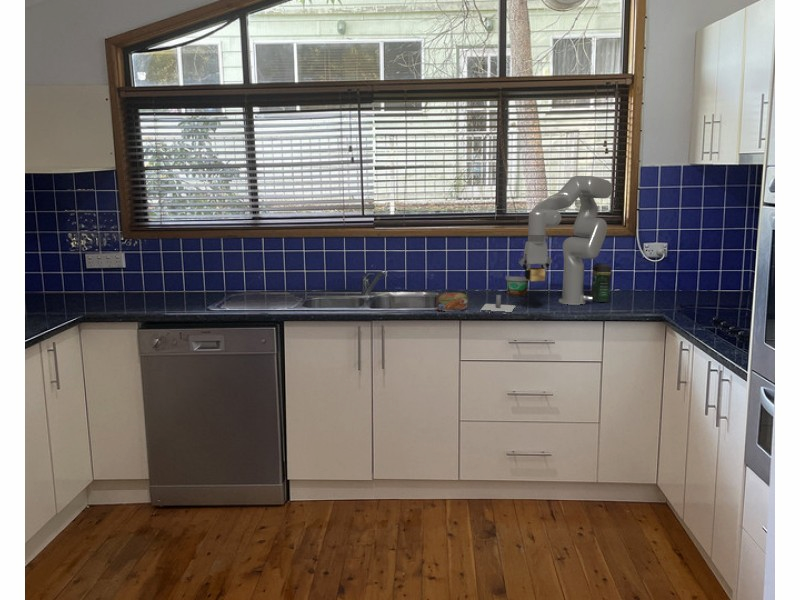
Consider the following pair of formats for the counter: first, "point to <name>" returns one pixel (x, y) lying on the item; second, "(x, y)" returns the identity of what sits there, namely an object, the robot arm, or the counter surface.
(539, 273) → the tan wooden block
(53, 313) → the counter surface
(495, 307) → the post base
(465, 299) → the tin
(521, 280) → the food container
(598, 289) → the coffee jar
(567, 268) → the robot arm
